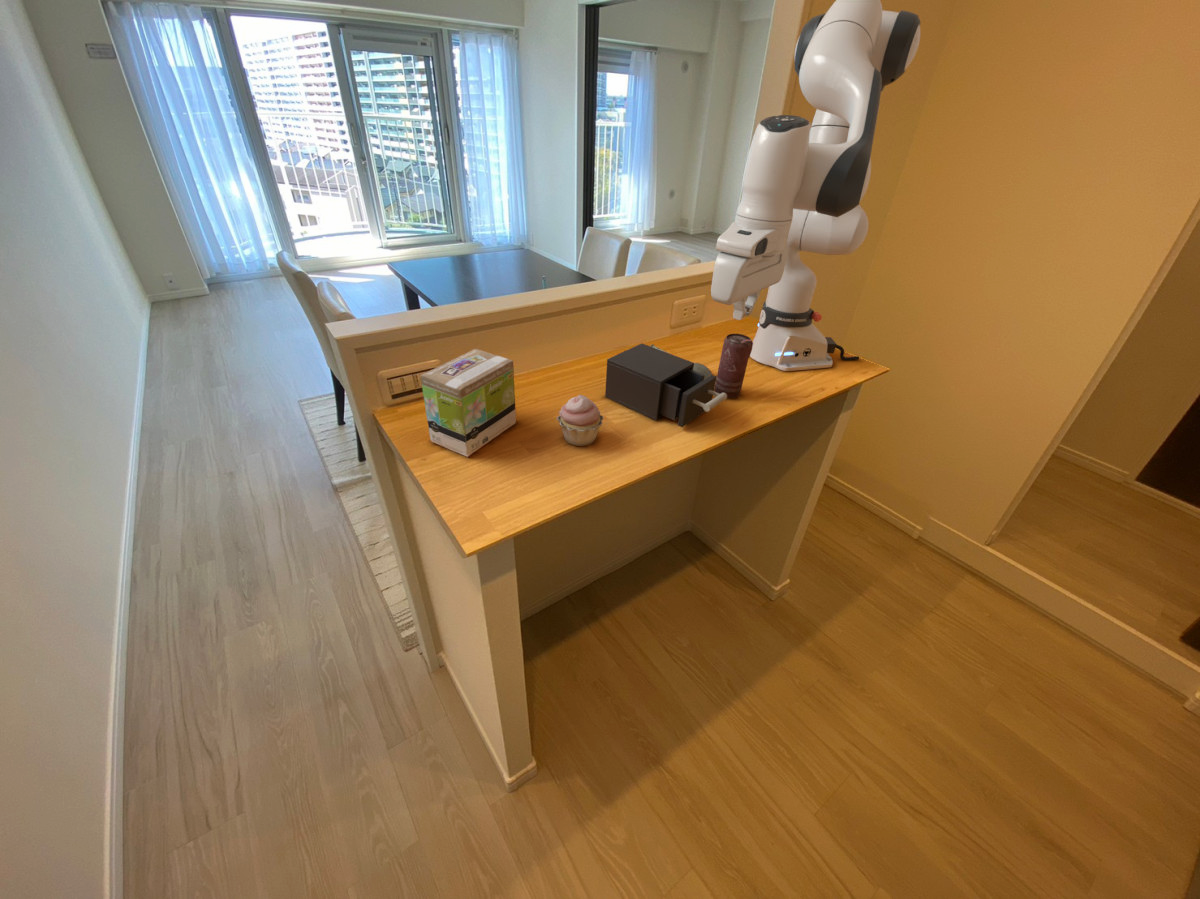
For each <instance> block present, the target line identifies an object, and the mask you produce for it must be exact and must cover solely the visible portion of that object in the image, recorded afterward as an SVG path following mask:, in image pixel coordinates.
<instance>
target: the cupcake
mask: <svg viewBox="0 0 1200 899" xmlns="http://www.w3.org/2000/svg"><path fill="white" fill-rule="evenodd" d="M558 414H559V416H557V417H556V418H555V419H556V421H558V423H559V426H560V427H561V431H562V433H563V437H564V439H565V441H566V442H567V443H568V444H570V445H571V446H576V447H585V446H589V445H591V444H593V443H594V442H595V441H596V439H597V436H598V433H599V429H600V428H601V426H602V424H603V420H604V416H603V415H601V410H600V409H599V407H598V405H597V404H596V403H595V402H594V401H593V400H591V399H590V398H589V397H587V396H586V395H582V394H578V395H577V396H574V397H571V398H569V400H568V401H567V402H566V403H565V404H563V405H562V406H561V408H560V411H558Z"/></svg>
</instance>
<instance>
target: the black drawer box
mask: <svg viewBox="0 0 1200 899" xmlns="http://www.w3.org/2000/svg"><path fill="white" fill-rule="evenodd" d="M661 350H662V349H661ZM661 350H658V349H656V348H653V347H650V345H647V344H645V343H639V344H637V345H635V346H632V347H631V348H629V349H626V350H624V351H621V352H620V353H617V354H615V355H613V356H611V357H609V358H607V359H606V373H605V374H606V376H605V393H604V394H605V395H604V398H606V399H608V400H610V401H612V402H615V403H616V404H619V405H621V406H623V407H625V408H627V409H629V410H631V411H633V412H636V413H638V414H640V415H642V416H644V417H646V418H648V419H650V420H653V421H655V422H658V421H659V420H660V419H662V418H663V417H664V416H663V415H661V414H659V410H660V402H661V394H662V386H663V383H665V382H667V381H668V380H670V379H672V378H674V377H675V376H677V375H679V374H681V373H682V372H684V371H686V370H688V369H691V370H693V367H694V363H695V362H693V361H690V360H687V359H685V358H682V357H679V356H677V355H674V354H672V353H670V352H668V353H666V352H667V351H665V350H663V351H661ZM664 351H665V352H664ZM669 353H670V354H669Z"/></svg>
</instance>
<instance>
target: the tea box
mask: <svg viewBox="0 0 1200 899" xmlns="http://www.w3.org/2000/svg"><path fill="white" fill-rule="evenodd" d="M420 382H421V383H420V384H421V389H422V396H423V401H424V402H423V403H424V407H425V409H424V410H425V414H426V421H427V425H428V433H429V438H430V439H429V440H430V442H431V443H434V444H436V445H438V446H440V447H443V448H445V449H447V450H450V451H452V452H454V453H457V454H459V455H462V456H464V457H467V458H469V457H470V456H471V455H472V454H474V453H475V452H477V451H478V450H479V449H481V448H482V447H483V446H485V445H487V444H488V443H489V442H490V441H492V440H493V439H495V438H497V437H498V436H499V435H500V434H502V433H503V432H505V431H507V430H509V428H511V427H513V426H514V425H515V424H516V423H517V411H516V410H517V409H516V395H515V393H516V391H515V390H516V389H515V368H514V360H513V359H510V358H506V357H503V356H501V355H497V354H493V353H490V352H488V351H484V350H481V349H478V348H474V349H471V350H470V351H468V352H465V353H464V354H461V355H459V356H457V357H455V358H453V359H451V360H449V361H447V362H445V363H443V364H440V365H438V366H437V367H435V368H433V369H431V370H428V371H427V372H425V373H423V374H421V375H420Z"/></svg>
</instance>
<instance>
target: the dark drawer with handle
mask: <svg viewBox="0 0 1200 899" xmlns="http://www.w3.org/2000/svg"><path fill="white" fill-rule="evenodd" d="M704 376H705V375H704V374H701V373H699V372H696V371H694V370H691V369H688V370H686V371H684V372H682V373H681V374H679V375H677V376H675V377H674V378H672V379H670V380H668V381H667V382H665V383H663V386H662V394H661V402H660V410H659V414H661V415H663V417H666V418H667V419H669V420H672V421H676V420H677V419H678V421H677V426H678V427H680V428H684V427H685V426H687V425H688V424H690V423H691V422H692V421H694V420H695V419H697V418H698V417H700V416H701V415H702V414H704V413H706V412H710V411H711V410H713V409H714V408H716V407H717V406H719V405H720V404H722V403H723V402H724V401H727V400H728V398H727V394H726V393H721V394H719V393H717V392H715V390H714V388H715V383H716V378H717V375H713V374H712V375H711V376H710V377H708V378H706V379H705V380H704ZM714 396H715V397H714Z"/></svg>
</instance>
